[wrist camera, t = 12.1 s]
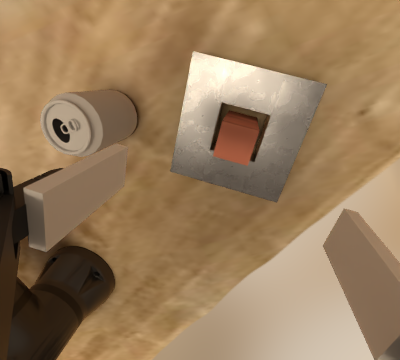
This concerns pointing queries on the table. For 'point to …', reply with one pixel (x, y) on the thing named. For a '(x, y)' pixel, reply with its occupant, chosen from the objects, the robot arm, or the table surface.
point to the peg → (237, 138)
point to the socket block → (249, 99)
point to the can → (87, 121)
